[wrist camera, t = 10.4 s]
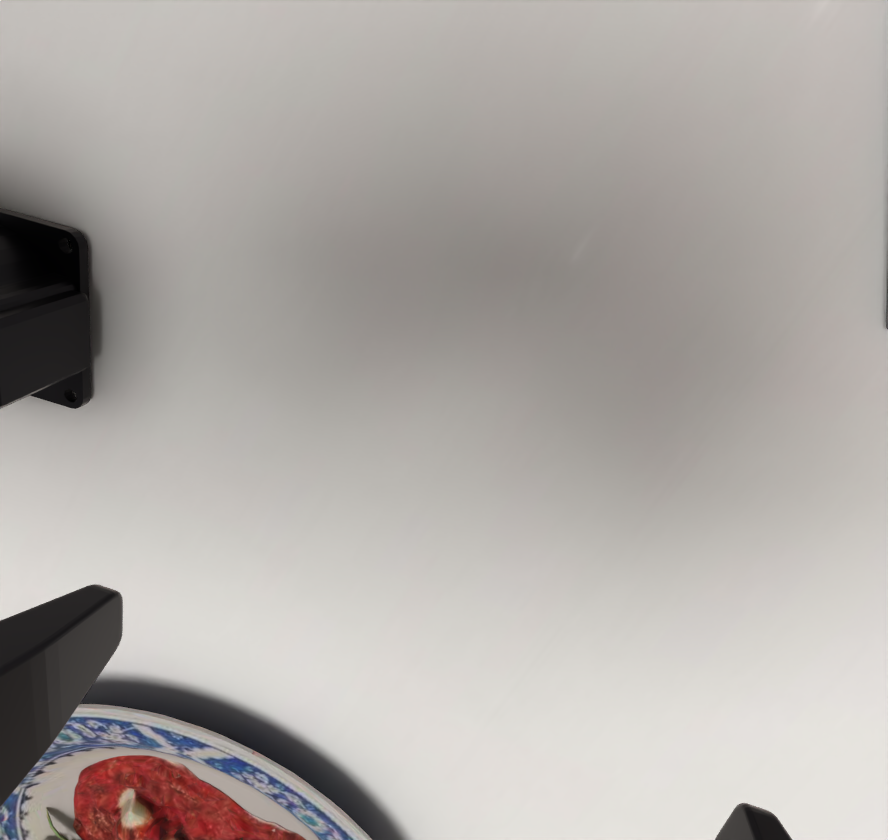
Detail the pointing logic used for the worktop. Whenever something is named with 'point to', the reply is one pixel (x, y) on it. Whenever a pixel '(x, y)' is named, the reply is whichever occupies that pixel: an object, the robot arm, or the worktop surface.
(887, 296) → the coaster
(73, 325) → the robot arm
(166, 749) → the ceramic plate
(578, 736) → the worktop surface
